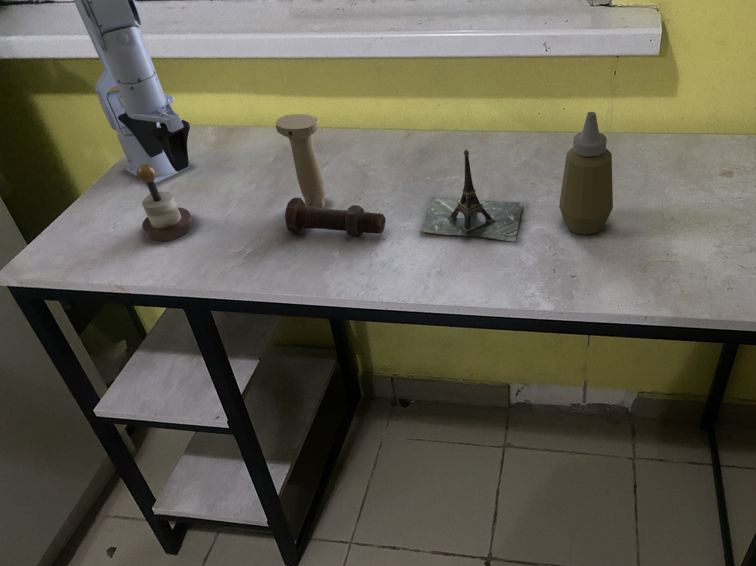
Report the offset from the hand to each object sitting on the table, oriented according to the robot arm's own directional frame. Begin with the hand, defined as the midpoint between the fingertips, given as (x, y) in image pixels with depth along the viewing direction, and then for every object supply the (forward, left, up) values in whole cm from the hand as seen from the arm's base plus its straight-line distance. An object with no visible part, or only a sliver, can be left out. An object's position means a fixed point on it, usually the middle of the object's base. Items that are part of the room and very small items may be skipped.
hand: (168, 161), depth 111 cm
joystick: (0, 0, -4) cm, 5 cm away
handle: (+15, +15, -11) cm, 24 cm away
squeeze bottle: (+54, +36, -11) cm, 66 cm away
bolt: (+24, +12, -11) cm, 29 cm away
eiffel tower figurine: (+39, +27, -11) cm, 49 cm away
